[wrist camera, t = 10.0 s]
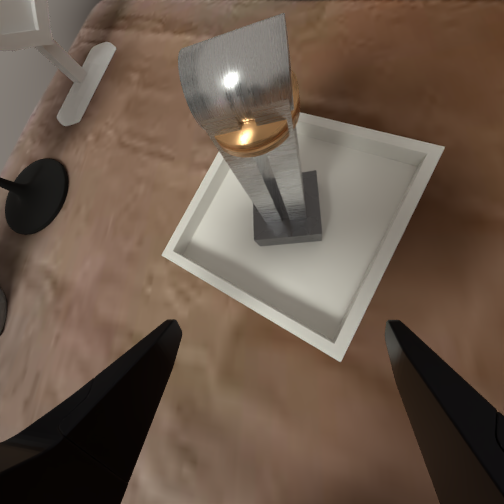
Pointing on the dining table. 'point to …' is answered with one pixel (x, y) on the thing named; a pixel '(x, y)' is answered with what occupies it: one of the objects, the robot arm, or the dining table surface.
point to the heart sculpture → (53, 52)
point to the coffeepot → (2, 309)
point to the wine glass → (35, 196)
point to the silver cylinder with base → (256, 125)
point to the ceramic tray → (319, 252)
